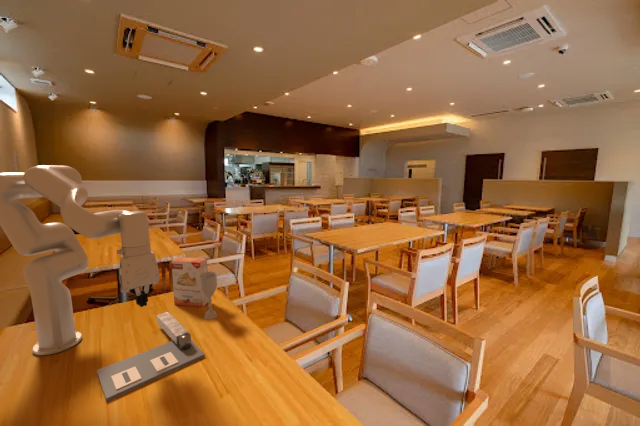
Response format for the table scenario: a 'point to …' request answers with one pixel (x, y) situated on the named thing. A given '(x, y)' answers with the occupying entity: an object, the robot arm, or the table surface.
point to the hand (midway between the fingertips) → (142, 305)
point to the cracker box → (189, 281)
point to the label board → (145, 368)
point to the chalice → (209, 290)
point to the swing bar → (174, 330)
